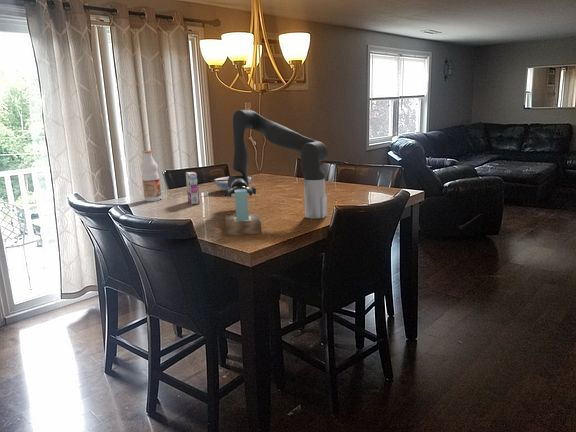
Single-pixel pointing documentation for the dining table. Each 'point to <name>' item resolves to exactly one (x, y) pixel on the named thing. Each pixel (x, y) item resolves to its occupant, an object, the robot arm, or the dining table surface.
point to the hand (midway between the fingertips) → (240, 194)
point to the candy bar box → (192, 188)
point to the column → (241, 204)
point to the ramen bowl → (224, 182)
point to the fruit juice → (150, 178)
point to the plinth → (243, 225)
